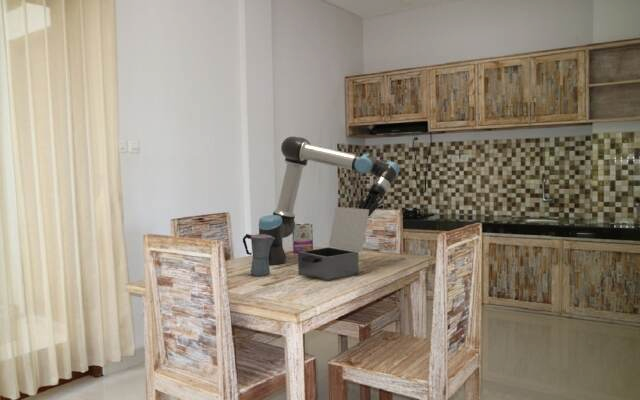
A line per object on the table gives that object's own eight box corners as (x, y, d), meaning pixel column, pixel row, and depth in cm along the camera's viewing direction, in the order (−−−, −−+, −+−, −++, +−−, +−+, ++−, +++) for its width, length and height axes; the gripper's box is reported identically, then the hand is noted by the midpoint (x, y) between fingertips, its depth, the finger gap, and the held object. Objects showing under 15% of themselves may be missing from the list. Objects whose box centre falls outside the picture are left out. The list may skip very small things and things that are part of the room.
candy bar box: (311, 250, 282) (311, 222, 281) (313, 252, 277) (312, 223, 276) (292, 251, 280) (291, 223, 279) (293, 253, 275) (292, 224, 274)
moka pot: (272, 277, 215) (271, 231, 214) (239, 276, 218) (238, 231, 217) (278, 272, 224) (277, 229, 223) (246, 271, 227) (245, 228, 226)
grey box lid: (335, 207, 234) (337, 207, 234) (328, 246, 232) (330, 246, 232) (367, 209, 217) (369, 209, 218) (359, 251, 215) (361, 252, 216)
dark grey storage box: (294, 274, 219) (293, 252, 218) (329, 268, 232) (328, 247, 231) (323, 282, 203) (322, 258, 203) (358, 274, 216) (358, 252, 215)
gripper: (393, 194, 234) (368, 232, 224) (373, 193, 244) (349, 230, 234) (385, 183, 230) (360, 222, 220) (365, 183, 240) (340, 220, 230)
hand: (354, 226), depth 227 cm, fingers closed
